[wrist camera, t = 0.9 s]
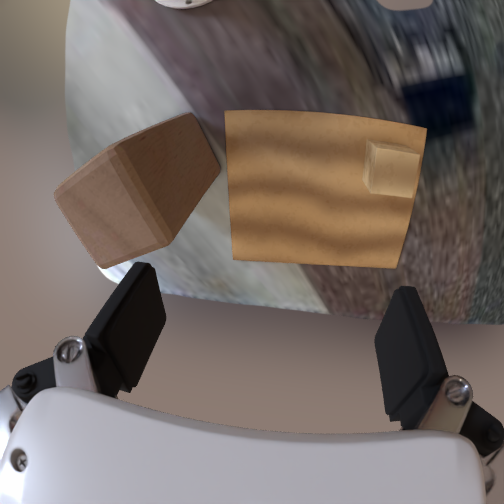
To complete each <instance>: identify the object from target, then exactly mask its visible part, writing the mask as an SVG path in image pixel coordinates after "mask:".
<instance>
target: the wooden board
mask: <svg viewBox="0 0 504 504" xmlns="http://www.w3.org/2000/svg"><path fill="white" fill-rule="evenodd" d="M426 131H427V129H426V128H422V127H418V126H413V125H408V124H403V123H398V122H392V121H386V120H380V119H374V118H367V117H359V116H351V115H342V114H332V113H321V112H307V111H286V110H228V111H225V133H226V153H227V172H228V189H229V206H230V222H231V237H232V252H233V260H248V261H265V262H283V263H300V264H319V265H338V266H358V267H378V268H396V266H397V263H398V260H399V256H400V253H401V250H402V246H403V243H404V239H405V236H406V232H407V228H408V224H409V221H410V217H411V213H412V208H413V204H414V200H415V195H416V191H417V186H418V181H419V176H420V170H421V165H422V159H423V153H424V146H425V139H426ZM367 139H369V140H377V141H384V142H390V143H396V144H402V145H407V146H408V147H410V148H411V149H412V150H414V151H415V152H417V153H418V154H420V158H419V164H418V170H417V175H416V181H415V186H414V191H413V195H412V198H407V197H399V196H390V195H381V194H371V193H370V192H369V190H368V188H367V187H366V185H365V184H364V182H363V180H362V177H363V169H364V161H365V152H366V142H367Z"/></svg>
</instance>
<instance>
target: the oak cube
mask: <svg viewBox="0 0 504 504" xmlns="http://www.w3.org/2000/svg"><path fill="white" fill-rule="evenodd" d="M419 158H420V154H418V153H417V152H415V151H414V150H412V149H411V148H410V147H408V146H407V145H402V144H396V143H390V142H384V141H377V140H369V139H367V142H366V152H365V161H364V169H363V177H362V180H363V182H364V184H365V185H366V187H367V188H368V190H369V192H370V193H371V194H381V195H390V196H399V197H407V198H412V195H413V191H414V186H415V181H416V175H417V170H418V164H419Z"/></svg>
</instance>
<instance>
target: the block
mask: <svg viewBox="0 0 504 504" xmlns="http://www.w3.org/2000/svg"><path fill="white" fill-rule="evenodd" d="M219 173H220V166H219V164H218V162H217V160H216V158H215V156H214V154H213V152H212V150H211V148H210V146H209V144H208V142H207V140H206V138H205V136H204V134H203V132H202V130H201V128H200V126H199V124H198V122H197V120H196V118H195V116H194V115H193V114H192V113H191V112H190V113H184V114H181V115H178V116H176V117H173V118H170V119H168V120H165V121H163V122H160V123H158V124H156V125H153V126H151V127H148V128H146V129H144V130H141V131H139V132H137V133H135V134H133V135H130V136H128V137H126V138H124V139H122V140H120V141H118V142H116V143H114V144H112V145H110V146H108V147H107V148H105V149H104V150H103V151H101V152H100V153H99V154H97V155H96V156H94V157H93V158H92V159H91V160H89V161H88V162H87V163H85V164H84V165H83V166H81V167H80V168H79V169H78V170H76V171H75V172H74V173H73V174H71V175H70V176H69V177H68V178H67V179H65V180H64V181H63V182H62V183H61V184H60V185H58V187H57V189H56V190H55V192H54V198H55V201H56V203H57V204H58V206H59V208H60V209H61V211H62V213H63V214H64V216H65V218H66V219H67V221H68V222H69V224H70V225H71V227H72V229H73V230H74V232H75V233H76V235H77V236H78V238H79V239H80V241H81V242H82V244H83V245H84V247H85V248H86V250H87V251H88V253H89V254H90V256H91V257H92V258H93V260H94V261H95V263H96V264H97V265H98V266H99V267H100V268H102V269H107V268H109V267H112V266H115V265H117V264H120V263H123V262H125V261H128V260H130V259H133V258H136V257H139V256H141V255H144V254H147V253H149V252H152V251H155V250H158V249H160V248H163V247H166V246H168V245H169V244H170V243H171V242H172V241H173V240H174V238H175V237H176V235H177V234H178V232H179V231H180V229H181V228H182V226H183V225H184V223H185V222H186V220H187V219H188V217H189V216H190V214H191V213H192V211H193V210H194V208H195V207H196V205H197V204H198V202H199V201H200V200H201V198H202V197H203V195H204V194H205V192H206V191H207V190H208V188H209V187H210V185H211V184H212V182H213V181H214V180H215V178H216V177H217V176H218V174H219Z"/></svg>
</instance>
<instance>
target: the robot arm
mask: <svg viewBox="0 0 504 504" xmlns="http://www.w3.org/2000/svg"><path fill="white" fill-rule="evenodd" d="M155 1H156V2H158V3H160V4H162V5H164V6H166V7H169V8H175V9H188V8H194V7H198V6H202V5H204V4H207V3H209V2H211V1H213V0H155ZM190 2H192V3H191V4H190ZM165 322H166V313H165V309H164V305H163V302H162V297H161V293H160V289H159V284H158V280H157V276H156V271H155V268H154V267H152V266H151V264H150V263H144V262H135V263H134V264H133V266H132V267H131V268H130V270H129V271H128V272H127V274H126V275H125V277H124V278H123V279H122V281H121V282H120V283H119V285H118V286H117V288H116V289H115V290H114V292H113V293H112V295H111V296H110V298H109V299H108V300H107V302H106V303H105V305H104V306H103V308H102V309H101V310H100V312H99V314H98V315H97V316H96V318H95V319H94V321H93V322H92V324H91V325H90V327H89V329H88V330H87V332H86V333H85V336H84V337H83V339H82V338H80V337H77V336H69V337H66V338H64V339H62V340H61V341H60V342H59V343H58V344H57V345H56V346H55V349H54V351H53V357H51V358H48V359H46V360H43V361H41V362H38V363H35V364H33V365H30V366H28V367H25V368H23V369H21V370H19V371H18V373H16V375H15V377H14V379H13V382H12V387H11V386H10V385H8V386H6V387H5V388H4V389H2V390H1V391H0V504H504V428H503V426H502V424H501V422H500V421H499V420H497V419H496V418H495V417H493V416H492V415H491V414H489V413H488V412H486V411H485V410H484V409H483V408H481V407H480V406H479V405H477V404H476V403H474V402H473V401H472V399H473V390H472V388H471V385H470V384H469V383H468V381H466V379H464V378H463V377H460V376H456V375H453V376H449V375H448V372H447V369H446V365H445V362H444V359H443V356H442V353H441V350H440V347H439V345H438V342H437V339H436V336H435V333H434V331H433V328H432V326H431V323H430V322H429V319H428V317H427V314H426V312H425V309H424V307H423V304H422V302H421V300H420V297H419V295H418V293H417V290H416V288H415V287H411V286H400V287H399V289H396V290H395V291H394V294H393V296H392V299H391V301H390V304H389V306H388V308H387V311H386V313H385V315H384V318H383V320H382V322H381V324H380V327H379V329H378V331H377V333H376V336H375V348H376V354H377V359H378V365H379V371H380V378H381V384H382V391H383V398H384V405H385V412H386V414H387V415H389V417H390V422H392V421H401V426H402V427H401V429H400V430H399V431H391V432H378V433H353V434H312V433H291V432H278V431H267V430H257V429H249V428H241V427H234V426H228V425H222V424H215V423H210V422H204V421H200V420H195V419H190V418H185V417H181V416H177V415H172V414H168V413H164V412H160V411H157V410H153V409H149V408H146V407H142V406H139V405H135V404H132V403H128V402H125V401H122V400H119V399H118V397H117V394H118V392H119V390H122V391H125V392H128V393H130V392H131V390H132V387H136V386H137V384H138V382H139V380H140V377H141V375H142V373H143V371H144V368H145V366H146V364H147V362H148V359H149V357H150V355H151V353H152V351H153V348H154V346H155V344H156V342H157V340H158V337H159V335H160V333H161V331H162V329H163V327H164V325H165Z"/></svg>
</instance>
